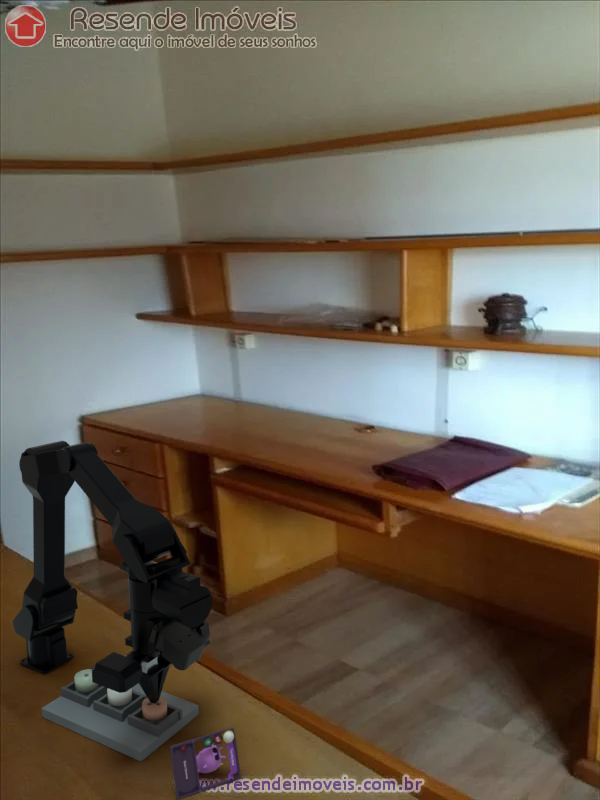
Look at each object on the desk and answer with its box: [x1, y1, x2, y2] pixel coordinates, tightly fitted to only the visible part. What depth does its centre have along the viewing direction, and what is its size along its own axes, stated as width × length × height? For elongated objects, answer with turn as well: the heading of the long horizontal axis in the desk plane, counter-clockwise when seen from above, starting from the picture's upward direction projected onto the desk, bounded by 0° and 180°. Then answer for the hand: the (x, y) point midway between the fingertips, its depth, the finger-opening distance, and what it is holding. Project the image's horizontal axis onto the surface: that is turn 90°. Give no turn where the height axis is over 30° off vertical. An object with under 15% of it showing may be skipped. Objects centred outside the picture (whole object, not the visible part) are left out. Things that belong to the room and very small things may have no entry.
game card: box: [169, 727, 242, 800], centre depth 107 cm, size 7×5×9 cm
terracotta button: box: [142, 696, 167, 721], centre depth 117 cm, size 4×4×2 cm
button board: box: [41, 679, 200, 762], centre depth 121 cm, size 20×13×3 cm, turn 59°
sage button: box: [74, 668, 99, 692], centre depth 124 cm, size 4×4×2 cm
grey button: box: [107, 688, 132, 706], centre depth 120 cm, size 4×4×2 cm
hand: (154, 701), depth 116 cm, fingers closed
